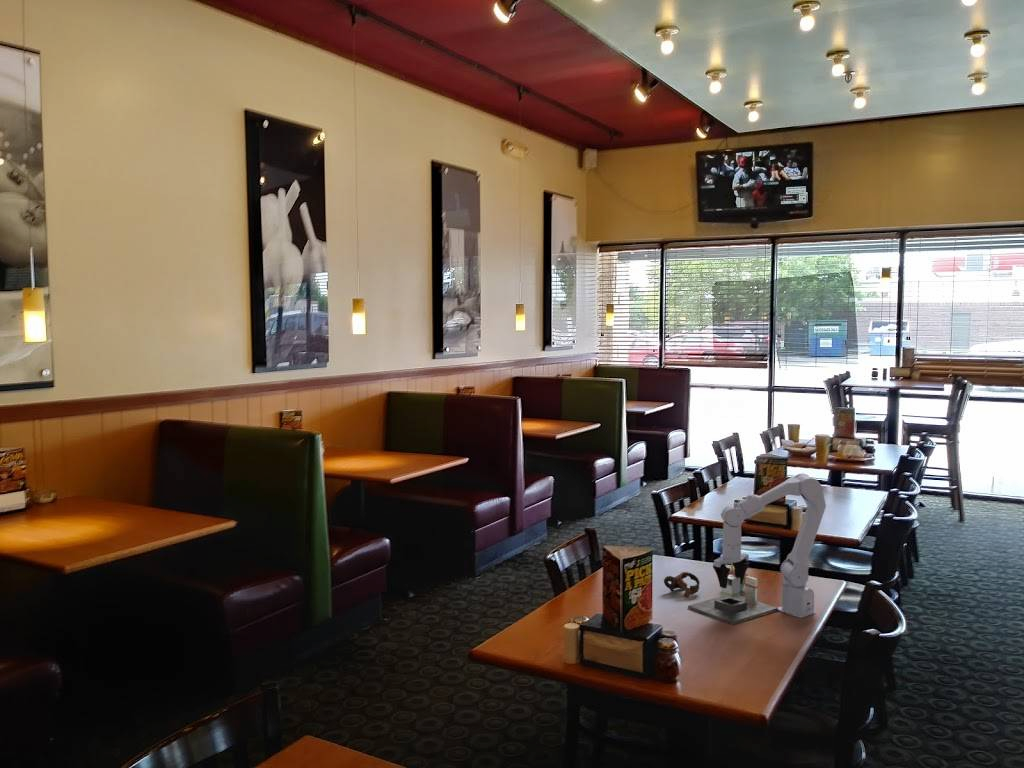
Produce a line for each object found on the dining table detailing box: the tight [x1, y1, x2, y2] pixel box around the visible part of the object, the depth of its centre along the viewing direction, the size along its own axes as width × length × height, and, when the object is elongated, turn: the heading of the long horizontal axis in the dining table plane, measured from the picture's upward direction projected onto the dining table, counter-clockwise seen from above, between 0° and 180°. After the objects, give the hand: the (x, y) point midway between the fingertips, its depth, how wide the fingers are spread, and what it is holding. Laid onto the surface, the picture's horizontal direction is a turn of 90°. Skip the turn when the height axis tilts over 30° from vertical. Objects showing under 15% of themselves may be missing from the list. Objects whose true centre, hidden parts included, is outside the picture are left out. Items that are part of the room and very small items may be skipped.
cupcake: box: [728, 563, 749, 592], centre depth 285 cm, size 9×8×12 cm
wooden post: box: [721, 575, 741, 599], centre depth 264 cm, size 4×4×6 cm
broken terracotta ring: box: [663, 571, 700, 599], centre depth 281 cm, size 12×10×8 cm
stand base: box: [687, 575, 778, 625], centre depth 265 cm, size 18×22×9 cm
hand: (731, 585), depth 264 cm, fingers open, 7 cm apart
